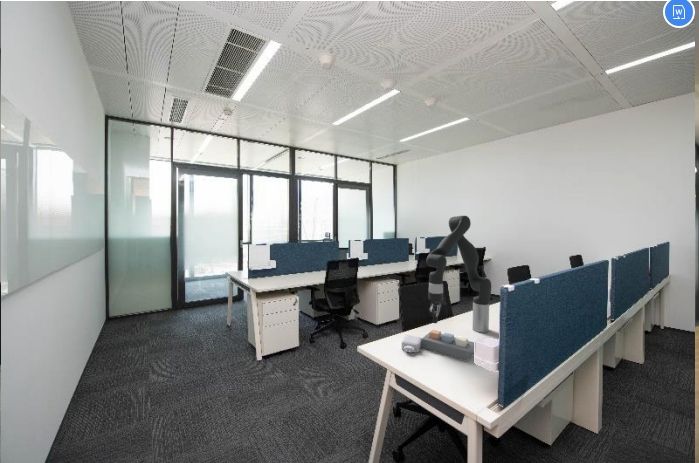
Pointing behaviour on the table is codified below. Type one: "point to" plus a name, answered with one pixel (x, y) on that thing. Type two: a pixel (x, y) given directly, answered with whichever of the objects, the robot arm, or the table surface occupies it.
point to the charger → (411, 343)
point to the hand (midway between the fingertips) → (435, 322)
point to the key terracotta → (435, 334)
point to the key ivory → (462, 341)
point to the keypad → (448, 348)
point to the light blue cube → (448, 338)
